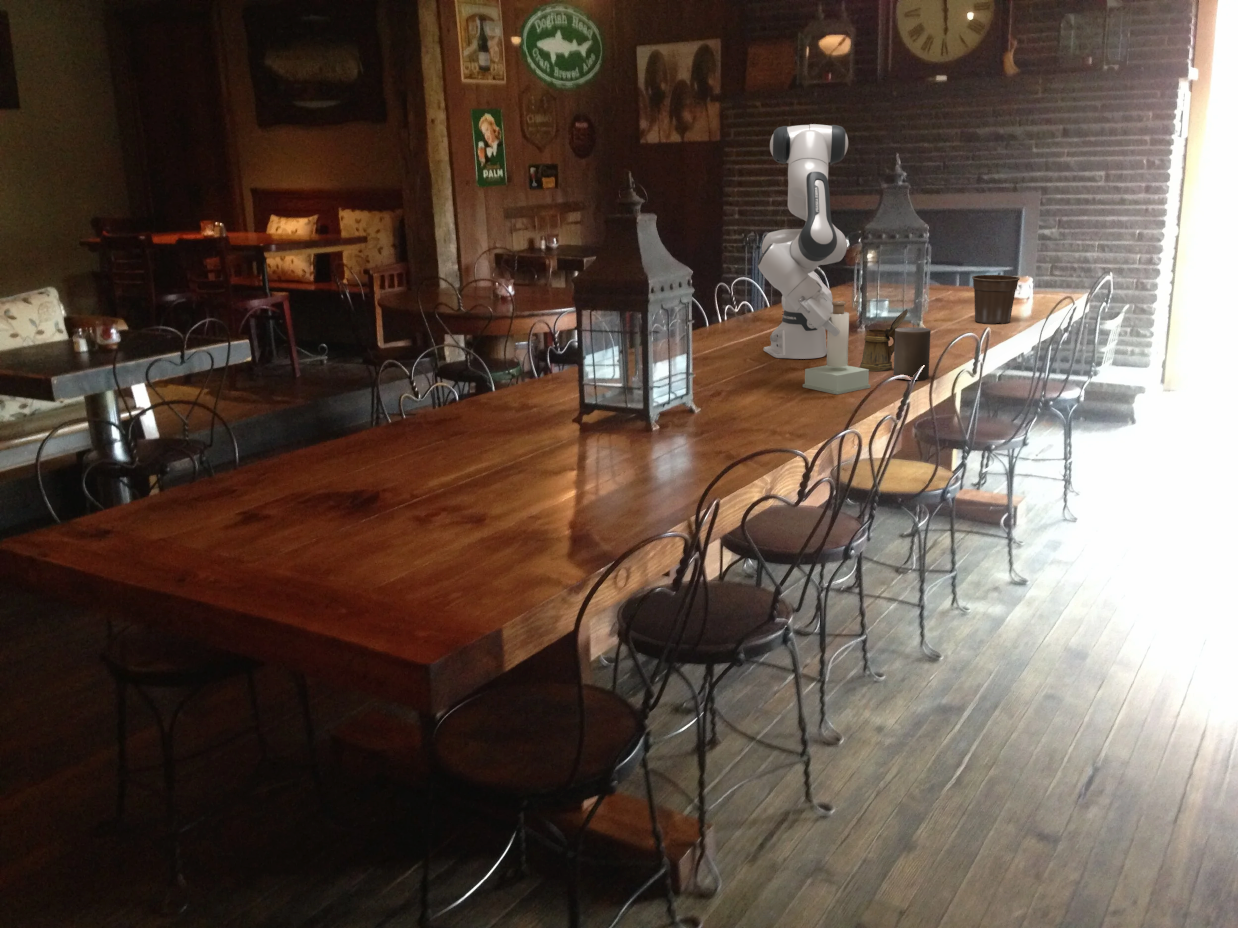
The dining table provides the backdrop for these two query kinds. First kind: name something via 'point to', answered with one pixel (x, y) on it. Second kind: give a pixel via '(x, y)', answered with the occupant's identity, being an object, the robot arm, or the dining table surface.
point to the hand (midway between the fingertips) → (840, 332)
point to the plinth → (836, 379)
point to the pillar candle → (912, 351)
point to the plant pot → (994, 298)
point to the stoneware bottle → (838, 336)
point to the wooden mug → (880, 346)
